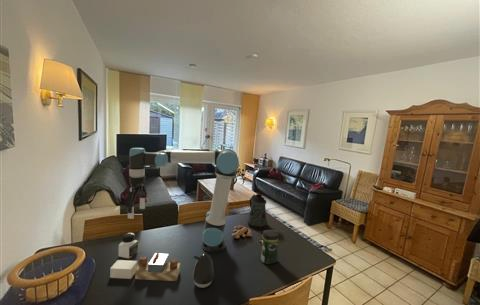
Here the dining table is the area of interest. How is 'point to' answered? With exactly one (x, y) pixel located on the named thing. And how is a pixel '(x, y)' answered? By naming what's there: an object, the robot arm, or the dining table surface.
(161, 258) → the lever cap
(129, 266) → the block
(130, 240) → the medicine bottle
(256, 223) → the beer stein
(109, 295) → the dining table surface
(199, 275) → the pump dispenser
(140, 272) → the cream wooden plank
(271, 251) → the coffee jar
